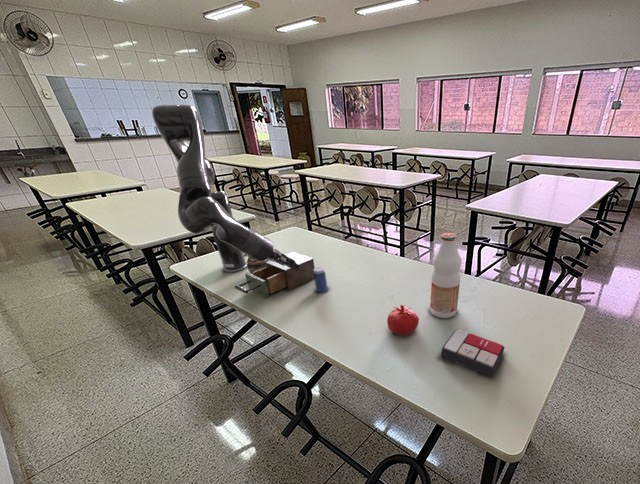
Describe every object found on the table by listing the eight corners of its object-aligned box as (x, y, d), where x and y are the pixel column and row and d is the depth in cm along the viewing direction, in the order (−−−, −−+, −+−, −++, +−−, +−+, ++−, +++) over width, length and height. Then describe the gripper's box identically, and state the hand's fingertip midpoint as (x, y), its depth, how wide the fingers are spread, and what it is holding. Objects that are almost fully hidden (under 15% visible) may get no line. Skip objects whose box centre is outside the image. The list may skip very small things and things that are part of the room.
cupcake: (244, 277, 136) (238, 255, 130) (260, 268, 143) (255, 247, 138) (262, 281, 133) (256, 259, 127) (277, 271, 140) (273, 250, 135)
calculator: (494, 367, 82) (441, 346, 89) (491, 379, 85) (440, 357, 91) (505, 344, 90) (456, 326, 97) (502, 355, 93) (454, 337, 99)
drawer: (251, 305, 115) (246, 288, 111) (234, 295, 120) (229, 279, 117) (294, 284, 128) (291, 269, 124) (276, 277, 134) (273, 262, 130)
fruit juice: (439, 321, 107) (444, 242, 92) (425, 307, 114) (428, 232, 100) (462, 314, 110) (471, 237, 96) (447, 301, 118) (453, 228, 103)
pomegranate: (408, 342, 97) (408, 317, 92) (381, 332, 102) (380, 308, 97) (423, 326, 104) (424, 302, 99) (398, 317, 109) (397, 294, 104)
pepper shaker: (314, 288, 127) (311, 268, 122) (325, 286, 129) (322, 265, 124) (318, 293, 124) (315, 272, 119) (329, 290, 126) (326, 269, 121)
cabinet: (289, 290, 126) (285, 270, 121) (270, 281, 132) (265, 262, 128) (316, 277, 135) (313, 258, 131) (296, 269, 142) (293, 251, 137)
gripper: (273, 237, 93) (310, 261, 108) (245, 228, 101) (283, 251, 115) (261, 260, 92) (300, 281, 107) (234, 249, 100) (274, 270, 114)
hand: (291, 265), depth 111 cm, fingers open, 7 cm apart
